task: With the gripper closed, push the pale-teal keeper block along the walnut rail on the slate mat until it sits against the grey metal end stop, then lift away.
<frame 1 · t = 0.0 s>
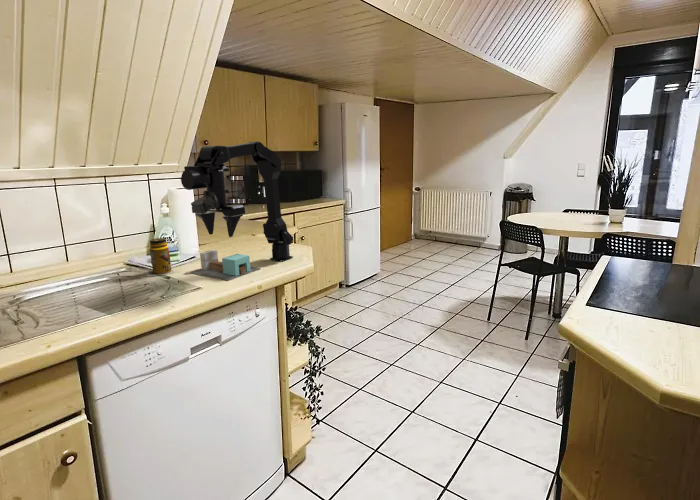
hand: (220, 235, 130), 15 cm above the countertop, fingers open, 9 cm apart
condiment: (159, 273, 143), on the countertop
keeper: (236, 264, 139), point 3 cm above the countertop, slide at 0.0 cm
rail track: (225, 271, 142), on the countertop
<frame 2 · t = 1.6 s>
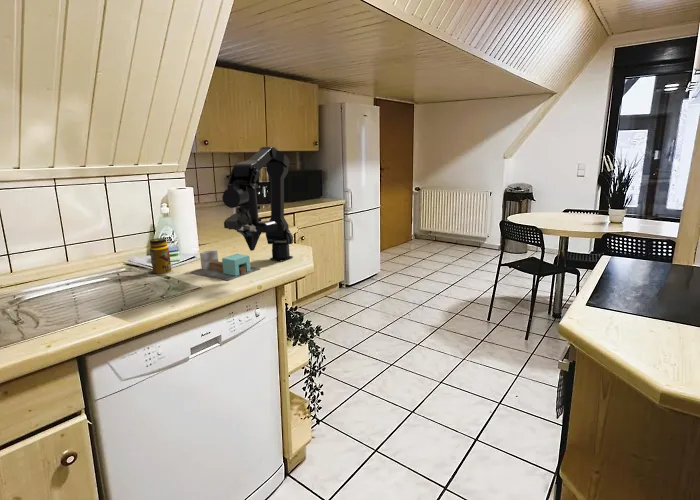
hand: (252, 250, 133), 9 cm above the countertop, fingers closed
nothing on the countertop moved.
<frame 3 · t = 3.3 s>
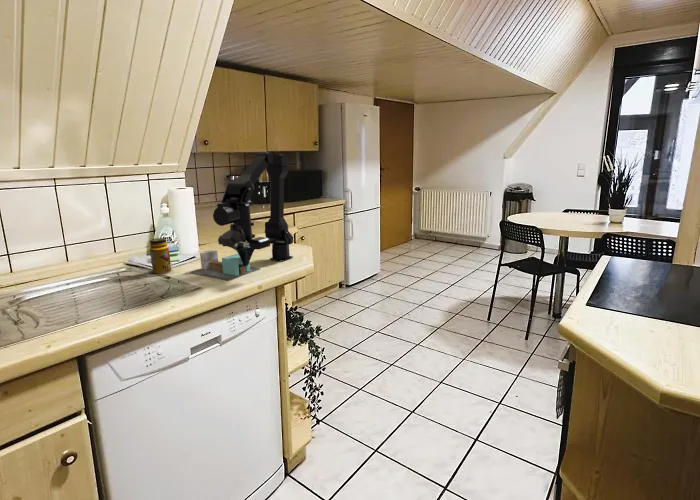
hand: (245, 265, 136), 3 cm above the countertop, fingers closed
keeper: (236, 264, 139), point 3 cm above the countertop, slide at 0.1 cm, touching gripper
everything else where it was.
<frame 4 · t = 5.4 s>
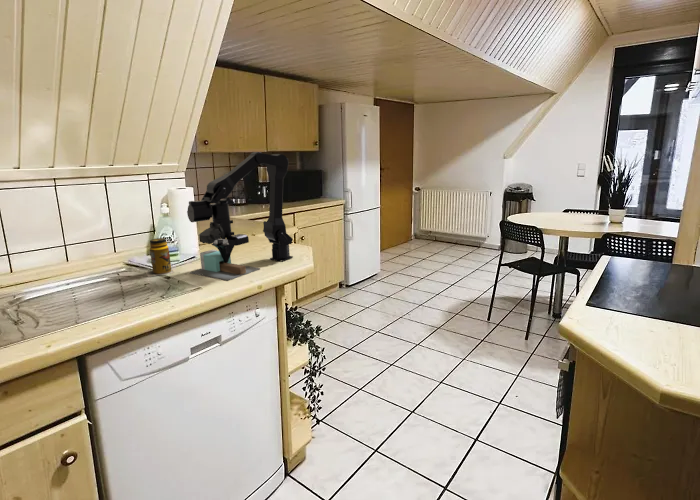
hand: (226, 262, 141), 3 cm above the countertop, fingers closed
keeper: (217, 261, 143), point 3 cm above the countertop, slide at 9.5 cm, touching gripper, rail track
everything else where it was.
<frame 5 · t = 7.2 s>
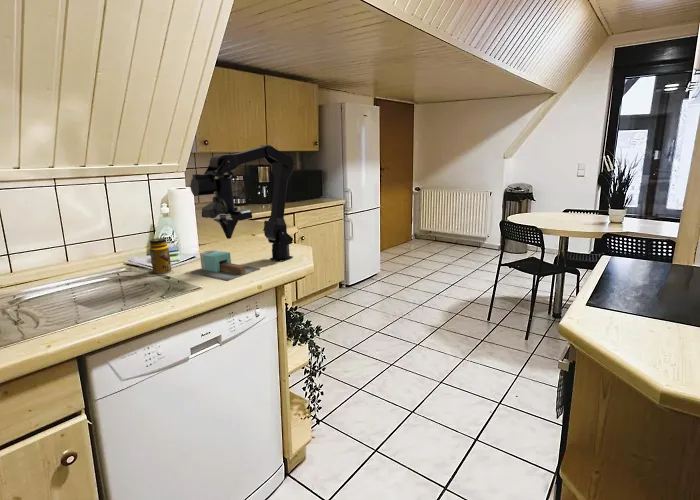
hand: (228, 238, 139), 12 cm above the countertop, fingers closed
keeper: (217, 261, 143), point 3 cm above the countertop, slide at 9.5 cm, touching rail track
everything else where it was.
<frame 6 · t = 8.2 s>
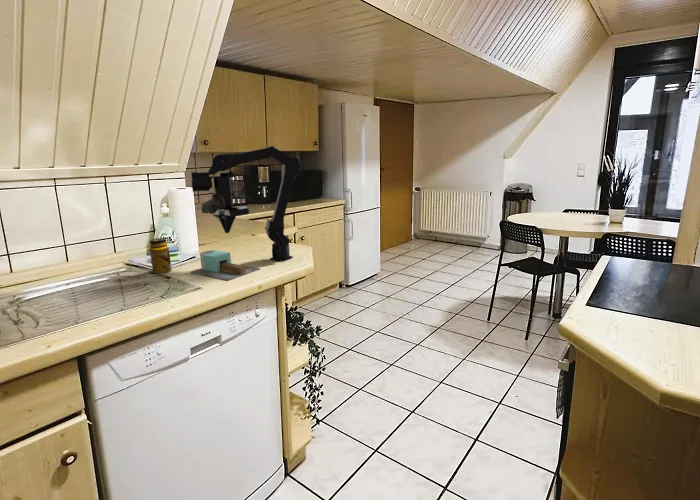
hand: (227, 233, 148), 12 cm above the countertop, fingers closed
nothing on the countertop moved.
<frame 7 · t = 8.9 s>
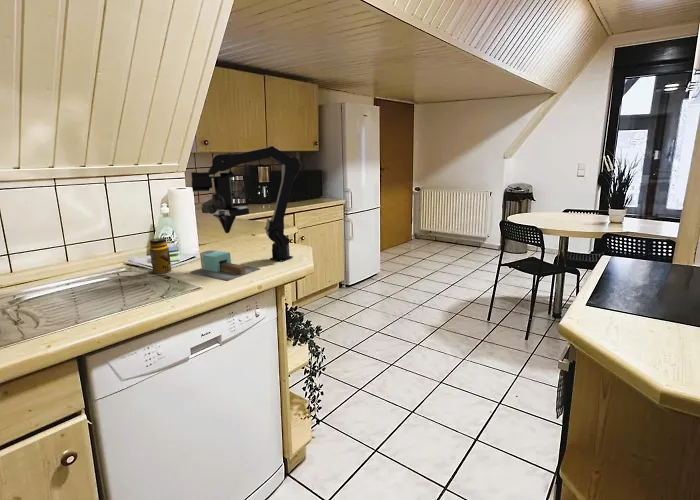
hand: (227, 233, 148), 12 cm above the countertop, fingers closed
nothing on the countertop moved.
at the end: keeper slide at 9.5 cm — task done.
